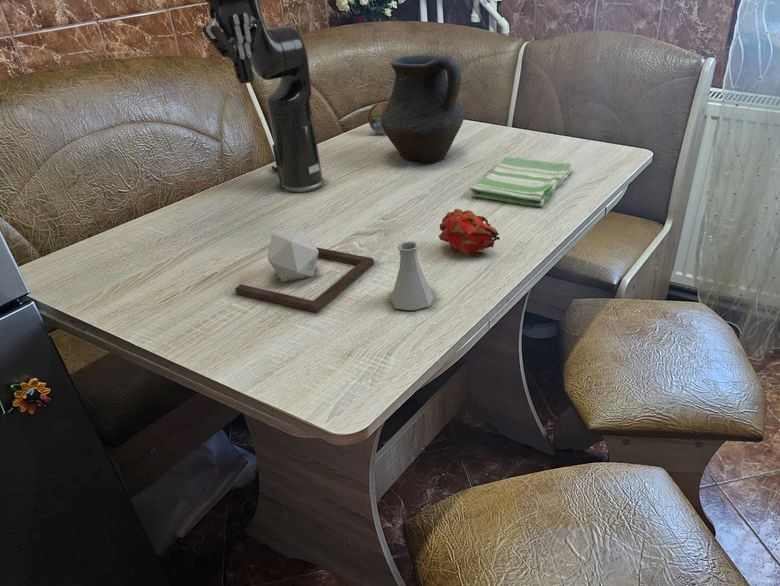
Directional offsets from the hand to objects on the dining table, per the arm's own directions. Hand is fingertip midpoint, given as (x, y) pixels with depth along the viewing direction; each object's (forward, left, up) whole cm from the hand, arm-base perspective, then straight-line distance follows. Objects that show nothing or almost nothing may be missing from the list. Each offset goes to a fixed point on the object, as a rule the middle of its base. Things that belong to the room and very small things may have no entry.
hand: (246, 82), depth 111 cm
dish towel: (+30, +47, -29) cm, 62 cm away
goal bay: (+19, -11, -28) cm, 36 cm away
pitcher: (0, +51, -29) cm, 58 cm away
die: (+17, -11, -29) cm, 35 cm away
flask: (+40, -7, -29) cm, 50 cm away
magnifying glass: (-22, +65, -29) cm, 74 cm away
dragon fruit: (+38, +13, -29) cm, 49 cm away
